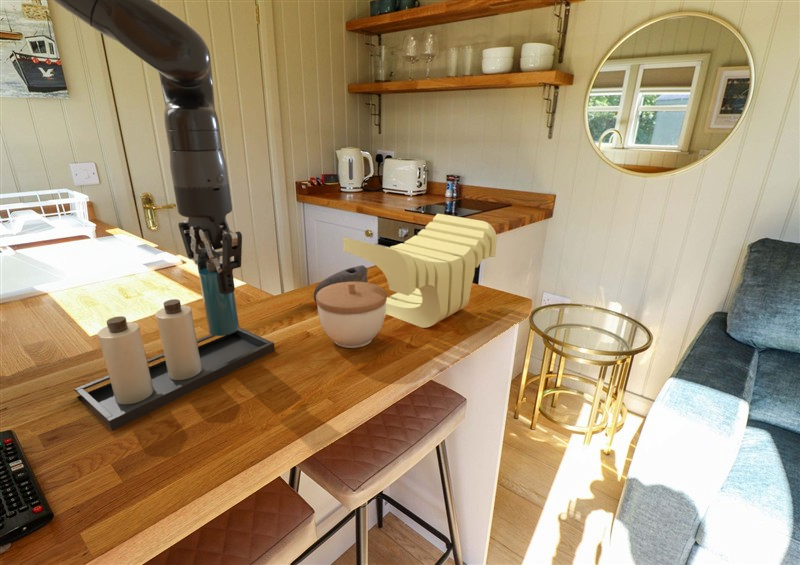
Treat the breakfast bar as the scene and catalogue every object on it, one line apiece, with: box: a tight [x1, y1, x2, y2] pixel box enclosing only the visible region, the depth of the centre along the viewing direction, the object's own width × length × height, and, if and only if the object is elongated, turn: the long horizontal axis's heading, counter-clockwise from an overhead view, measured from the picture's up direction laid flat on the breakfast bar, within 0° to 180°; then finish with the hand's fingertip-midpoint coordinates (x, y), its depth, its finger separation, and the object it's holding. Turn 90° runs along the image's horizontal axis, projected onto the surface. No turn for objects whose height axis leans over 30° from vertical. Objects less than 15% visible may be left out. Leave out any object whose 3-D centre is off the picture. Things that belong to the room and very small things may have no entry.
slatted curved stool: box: [342, 213, 498, 329], centre depth 88 cm, size 30×16×18 cm, turn 139°
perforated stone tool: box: [313, 264, 369, 304], centre depth 94 cm, size 15×5×7 cm, turn 133°
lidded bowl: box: [315, 282, 388, 349], centre depth 77 cm, size 13×13×11 cm
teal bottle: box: [198, 259, 240, 337], centre depth 69 cm, size 5×5×12 cm
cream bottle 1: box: [97, 315, 154, 405], centre depth 59 cm, size 5×5×12 cm
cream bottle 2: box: [154, 298, 202, 380], centre depth 65 cm, size 5×5×12 cm
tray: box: [73, 326, 276, 432], centre depth 67 cm, size 12×26×2 cm, turn 144°
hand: (217, 288), depth 68 cm, fingers closed on teal bottle, 5 cm apart
